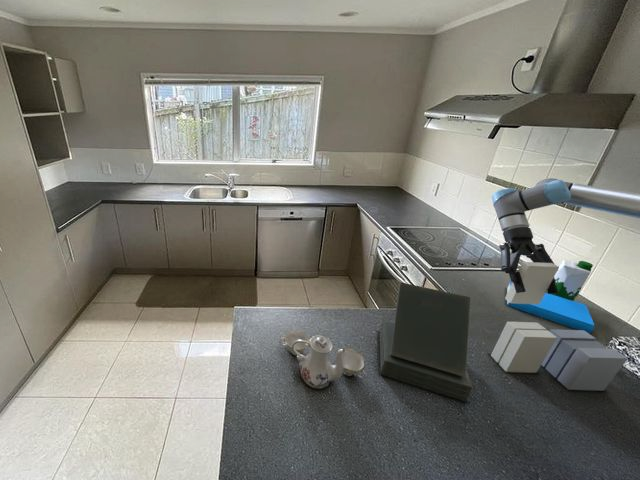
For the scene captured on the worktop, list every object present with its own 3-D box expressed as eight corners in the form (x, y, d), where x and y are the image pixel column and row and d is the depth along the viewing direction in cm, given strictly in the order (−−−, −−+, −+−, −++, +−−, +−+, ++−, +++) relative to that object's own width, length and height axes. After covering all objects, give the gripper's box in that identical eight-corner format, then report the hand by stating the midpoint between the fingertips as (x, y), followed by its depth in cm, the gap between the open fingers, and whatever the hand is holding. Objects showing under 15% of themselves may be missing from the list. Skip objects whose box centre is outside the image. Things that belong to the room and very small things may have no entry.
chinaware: (363, 366, 92) (373, 324, 87) (364, 410, 77) (376, 361, 72) (281, 342, 101) (286, 302, 96) (268, 377, 86) (272, 331, 81)
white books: (490, 355, 96) (507, 321, 91) (519, 356, 97) (537, 322, 91) (506, 371, 90) (524, 336, 85) (536, 372, 91) (557, 337, 85)
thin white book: (504, 298, 98) (522, 261, 92) (532, 299, 98) (552, 262, 92) (510, 303, 96) (528, 265, 90) (539, 304, 96) (559, 266, 90)
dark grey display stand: (380, 374, 88) (398, 311, 78) (379, 332, 105) (394, 275, 95) (465, 402, 80) (497, 336, 71) (449, 352, 97) (474, 293, 88)
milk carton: (572, 308, 122) (595, 269, 114) (543, 298, 128) (564, 260, 120) (571, 299, 128) (593, 261, 120) (544, 290, 134) (563, 254, 126)
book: (509, 281, 133) (586, 303, 118) (506, 289, 134) (581, 312, 120) (510, 298, 120) (596, 325, 106) (506, 306, 122) (590, 334, 107)
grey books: (534, 358, 96) (551, 328, 91) (565, 359, 96) (584, 329, 91) (568, 389, 85) (590, 357, 80) (603, 390, 85) (628, 358, 80)
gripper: (537, 234, 104) (559, 295, 95) (476, 232, 104) (493, 293, 95) (557, 227, 97) (583, 292, 88) (492, 224, 97) (513, 289, 88)
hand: (537, 292), depth 92 cm, fingers closed on thin white book, 10 cm apart
